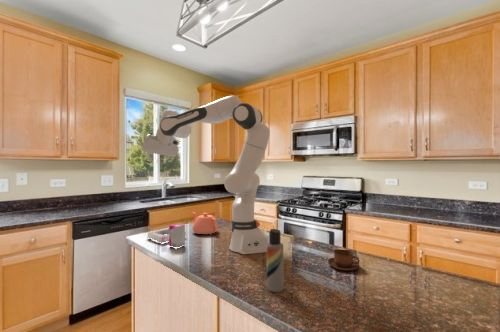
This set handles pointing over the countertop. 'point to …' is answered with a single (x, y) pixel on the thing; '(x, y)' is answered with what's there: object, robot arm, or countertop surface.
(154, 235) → the frame
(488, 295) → the countertop surface
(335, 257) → the cup and saucer
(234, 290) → the countertop surface
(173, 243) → the supplement box
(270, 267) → the lotion bottle
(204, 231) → the teapot
